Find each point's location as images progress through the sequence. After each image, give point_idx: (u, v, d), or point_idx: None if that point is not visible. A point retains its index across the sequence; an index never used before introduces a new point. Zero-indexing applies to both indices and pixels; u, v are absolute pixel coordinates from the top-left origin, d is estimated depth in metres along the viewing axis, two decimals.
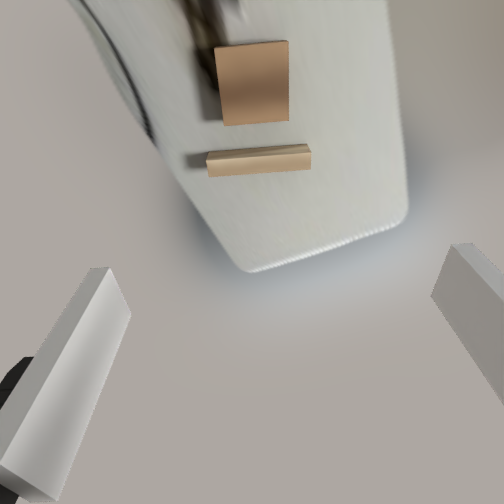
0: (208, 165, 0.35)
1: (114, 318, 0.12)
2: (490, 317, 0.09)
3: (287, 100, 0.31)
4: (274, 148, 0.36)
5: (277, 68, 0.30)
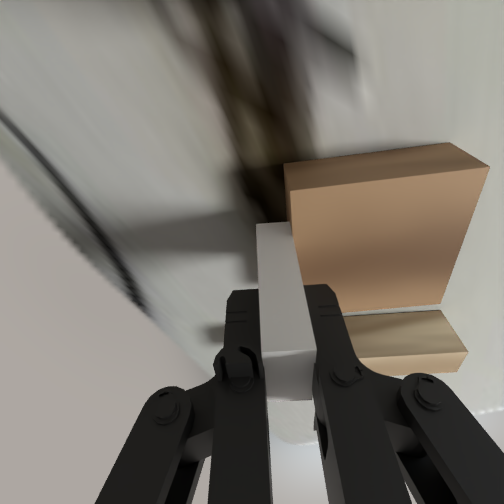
0: None
1: None
2: None
3: (448, 274, 0.14)
4: (380, 323, 0.19)
5: (443, 221, 0.12)
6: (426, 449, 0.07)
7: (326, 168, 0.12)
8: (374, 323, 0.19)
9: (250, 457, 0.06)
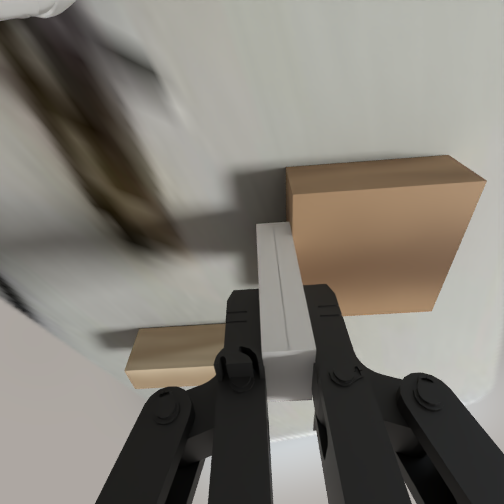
0: (130, 376, 0.18)
1: None
2: None
3: (441, 282, 0.14)
4: None
5: (439, 231, 0.12)
6: (425, 449, 0.07)
7: (328, 174, 0.12)
8: None
9: (250, 457, 0.06)
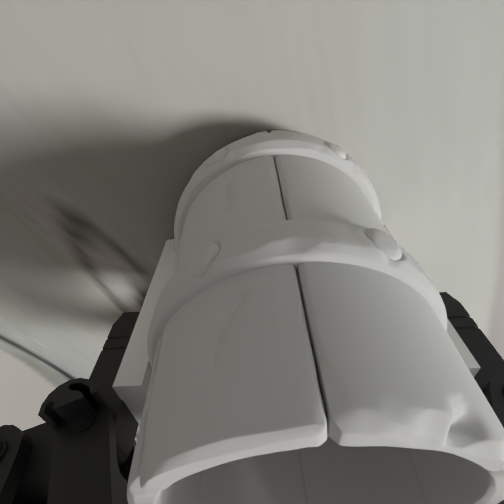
0: None
1: None
2: None
3: None
4: None
5: None
6: None
7: None
8: None
9: (91, 495, 0.06)
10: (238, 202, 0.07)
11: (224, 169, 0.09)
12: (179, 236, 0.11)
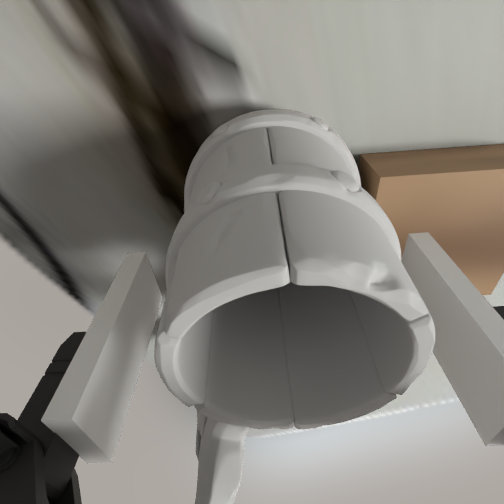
0: None
1: (150, 300, 0.12)
2: (438, 299, 0.10)
3: None
4: None
5: None
6: None
7: (406, 159, 0.13)
8: None
9: None
10: (236, 159, 0.09)
11: (226, 139, 0.11)
12: (188, 200, 0.13)
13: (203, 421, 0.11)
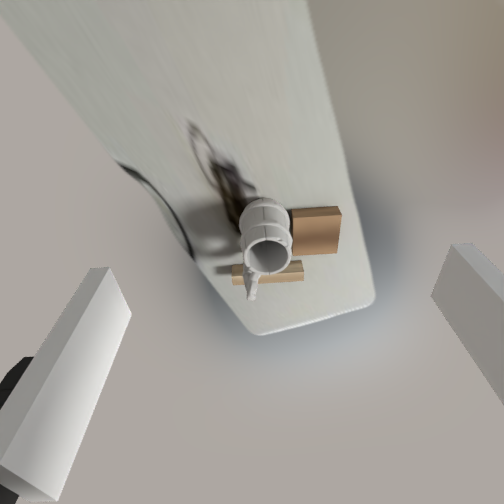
0: (233, 279, 0.51)
1: (114, 318, 0.12)
2: (490, 317, 0.09)
3: (337, 243, 0.47)
4: None
5: (333, 227, 0.45)
6: None
7: (303, 211, 0.45)
8: None
9: None
10: (255, 216, 0.42)
11: (252, 209, 0.44)
12: (241, 223, 0.45)
13: (247, 280, 0.43)
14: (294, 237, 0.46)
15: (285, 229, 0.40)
